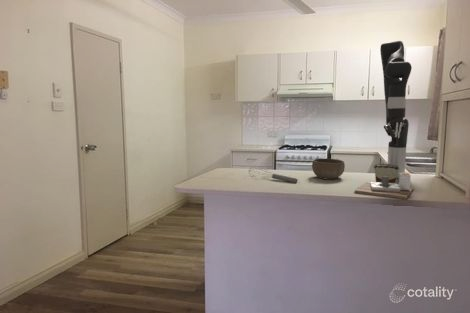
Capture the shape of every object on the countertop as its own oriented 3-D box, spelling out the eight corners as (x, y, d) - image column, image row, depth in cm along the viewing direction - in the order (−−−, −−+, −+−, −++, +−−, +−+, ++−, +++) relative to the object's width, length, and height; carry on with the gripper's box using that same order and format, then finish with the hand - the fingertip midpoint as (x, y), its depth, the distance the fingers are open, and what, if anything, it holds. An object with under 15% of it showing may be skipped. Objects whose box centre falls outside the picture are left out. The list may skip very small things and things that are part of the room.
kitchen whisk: (297, 185, 185) (297, 172, 185) (245, 177, 207) (245, 166, 206) (303, 183, 190) (303, 171, 189) (252, 176, 212) (252, 165, 211)
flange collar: (371, 190, 165) (372, 173, 164) (370, 185, 177) (371, 169, 176) (411, 192, 160) (412, 175, 159) (407, 187, 172) (408, 171, 171)
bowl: (347, 180, 195) (348, 162, 194) (315, 180, 195) (315, 162, 194) (339, 174, 212) (340, 158, 211) (309, 174, 212) (309, 158, 211)
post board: (366, 184, 184) (366, 171, 184) (413, 189, 172) (414, 175, 172) (354, 192, 166) (355, 178, 165) (406, 199, 154) (407, 183, 153)
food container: (399, 183, 187) (400, 164, 186) (398, 185, 182) (399, 166, 181) (374, 181, 193) (375, 162, 192) (372, 183, 188) (373, 164, 187)
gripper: (399, 106, 169) (397, 143, 171) (379, 107, 163) (377, 145, 165) (413, 107, 162) (411, 145, 165) (393, 107, 156) (391, 147, 159)
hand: (394, 145), depth 165 cm, fingers closed
